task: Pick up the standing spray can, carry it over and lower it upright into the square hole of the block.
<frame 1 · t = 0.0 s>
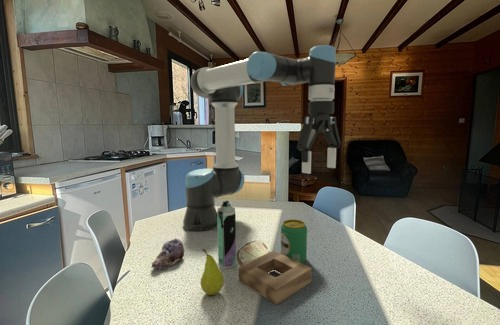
hand: (319, 170, 85), 28 cm above the table, fingers open, 13 cm apart
fruit: (212, 293, 69), on the table
beverage can: (293, 260, 86), on the table
spray can: (227, 264, 83), on the table
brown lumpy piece: (167, 263, 85), on the table
hole block: (274, 281, 74), on the table
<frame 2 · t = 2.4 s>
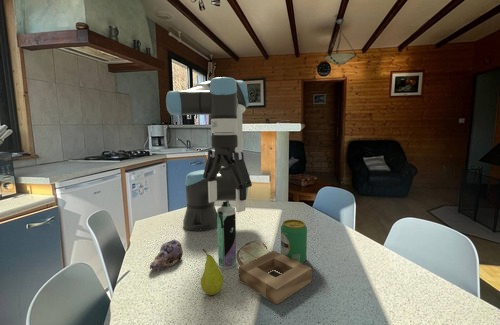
hand: (226, 206, 80), 19 cm above the table, fingers open, 13 cm apart
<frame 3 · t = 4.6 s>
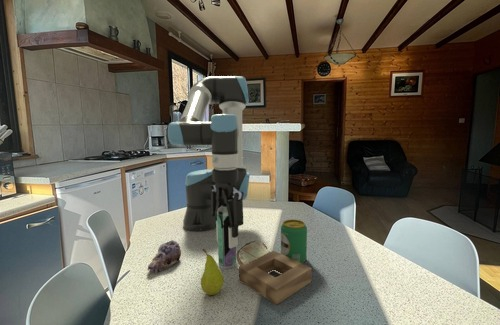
hand: (227, 243, 82), 7 cm above the table, fingers closed on spray can, 5 cm apart
spray can: (227, 264, 83), on the table, touching gripper
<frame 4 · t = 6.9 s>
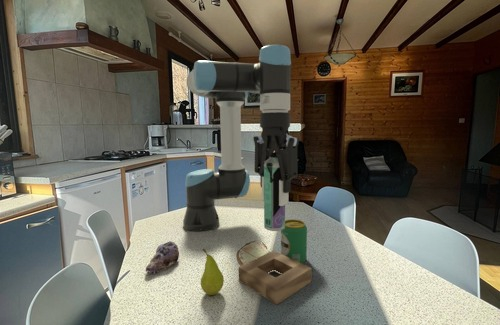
hand: (274, 202, 71), 22 cm above the table, fingers closed on spray can, 5 cm apart
spray can: (274, 227, 72), point 15 cm above the table, touching gripper
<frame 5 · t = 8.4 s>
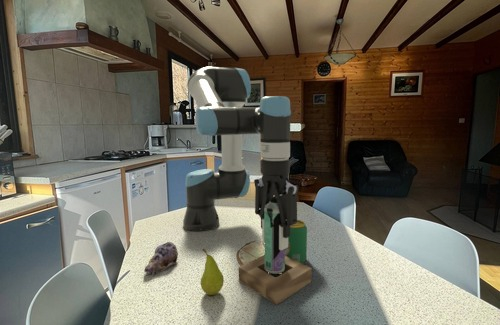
hand: (274, 244, 73), 11 cm above the table, fingers closed on spray can, 5 cm apart
spray can: (274, 269, 74), point 4 cm above the table, touching gripper
when the fingers open (8 cm above the table, at t = 9.5 s): spray can drops 1 cm, resting in hole block.
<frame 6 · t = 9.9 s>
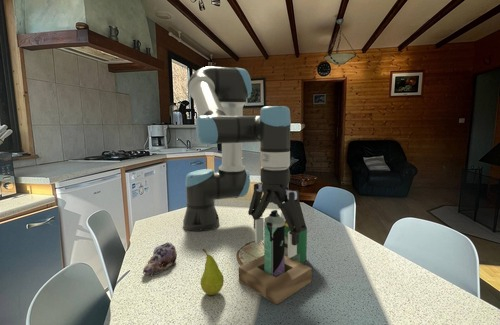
hand: (274, 247, 73), 10 cm above the table, fingers open, 11 cm apart
spray can: (274, 281, 74), resting in hole block
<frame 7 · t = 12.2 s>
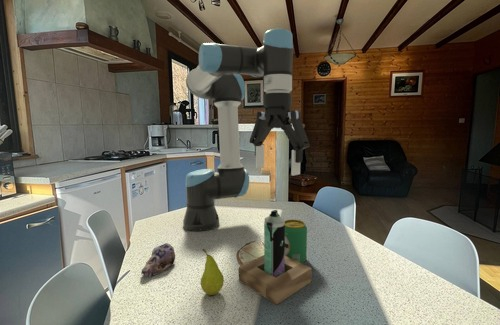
hand: (276, 171, 76), 29 cm above the table, fingers open, 13 cm apart
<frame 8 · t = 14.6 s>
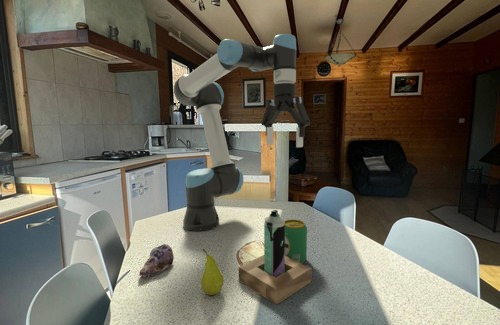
hand: (284, 146, 96), 35 cm above the table, fingers open, 13 cm apart
at the end: spray can 0.1 cm off-centre on the hole block, point 0.0 cm above the hole block's base; spray can tilted 0°; the gripper is holding nothing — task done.
